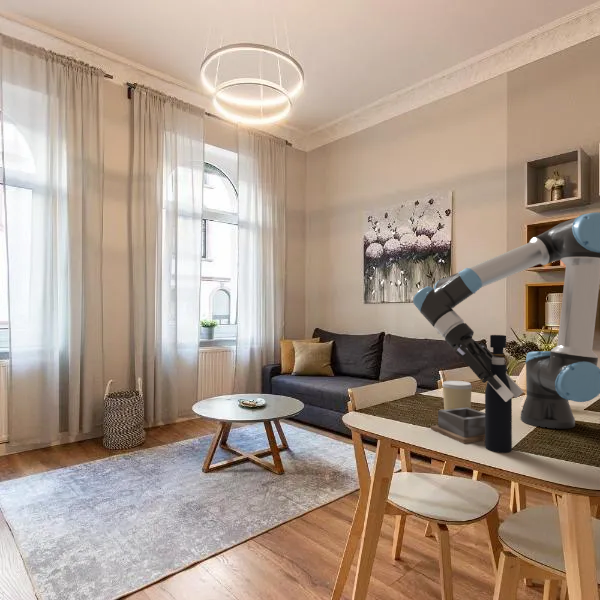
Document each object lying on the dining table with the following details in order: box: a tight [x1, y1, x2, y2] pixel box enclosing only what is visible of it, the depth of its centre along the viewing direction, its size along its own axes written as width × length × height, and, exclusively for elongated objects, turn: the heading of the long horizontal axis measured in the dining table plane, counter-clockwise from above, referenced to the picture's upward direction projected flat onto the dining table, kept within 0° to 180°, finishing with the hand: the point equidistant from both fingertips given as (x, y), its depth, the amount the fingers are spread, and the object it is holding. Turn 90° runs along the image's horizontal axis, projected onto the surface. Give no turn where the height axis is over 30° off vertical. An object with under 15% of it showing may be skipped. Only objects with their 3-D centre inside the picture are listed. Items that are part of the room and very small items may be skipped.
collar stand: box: [430, 407, 485, 444], centre depth 124 cm, size 14×14×6 cm
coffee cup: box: [441, 380, 473, 410], centre depth 140 cm, size 9×9×12 cm
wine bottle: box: [484, 334, 513, 454], centre depth 111 cm, size 6×6×30 cm
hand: (514, 396), depth 108 cm, fingers closed on wine bottle, 5 cm apart
